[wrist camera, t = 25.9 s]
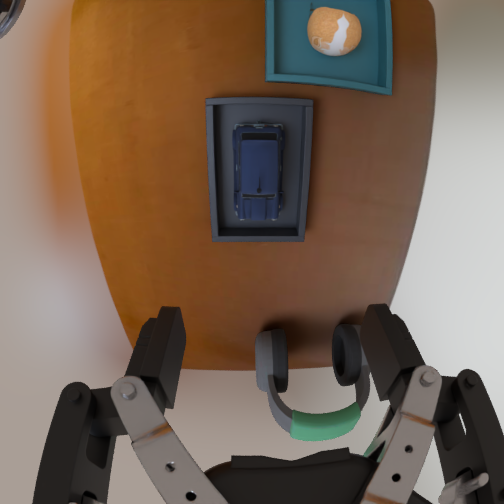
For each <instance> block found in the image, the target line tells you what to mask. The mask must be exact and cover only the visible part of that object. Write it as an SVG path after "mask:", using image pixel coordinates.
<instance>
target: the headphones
mask: <svg viewBox="0 0 504 504" xmlns="http://www.w3.org/2000/svg"><path fill="white" fill-rule="evenodd" d="M360 328H361V325H356V324H355V325H349V324H340V325H338V326H337V327H336V328H335V331H334V334H333V340H332V361H333V369H334V373H335V376H336V379H337V381H338V383H339V384H340V385H341V386H350V385H353V384H354V383H355V388H356V402H354V403H353V404H352V405H350V406H348V407H346V408H344V409H342V410H339V411H335V412H331V413H323V414H310V413H303V412H299V411H296V410H291V409H290V408H289V407H287V406H286V405H285V404H284V403H283V401H282V400H281V399H280V397H279V395H278V393H283V392H286V390H287V386H288V351H287V341H286V335H285V332H284V330H283V329H273V330H271V331H263V332H261V333H259V334H258V335H257V337H256V340H255V354H256V379H257V380H256V381H257V385H258V388H259V389H260V390H262V391H265V392H267V394H268V400H269V406H270V409H271V412H272V415H273V417H274V418H275V420H276V421H277V423H278V424H279V425H280V426H281V427H282V428H283V429H284V430H286V431H287V432H289V433H290V436H291V437H292V438H295V439H298V440H303V441H321V440H328V439H333V438H336V437H339V436H342V435H344V434H346V433H348V432H349V431H351V430H352V429H353V428H354V426H355V425H356V423H357V421H358V420H359V418H360V416H361V411H362V409H363V407H364V405H365V404H366V402H367V399H368V396H369V392H370V379H369V374H370V372H371V371H370V368H369V365H368V362H367V360H366V357H365V354H364V351H363V348H362V345H361V342H360Z"/></svg>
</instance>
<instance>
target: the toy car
mask: <svg viewBox="0 0 504 504" xmlns="http://www.w3.org/2000/svg"><path fill="white" fill-rule="evenodd" d="M237 126H238V127H237ZM278 126H281V128H280V127H278ZM232 146H233V162H234V191H233V192H234V211H236V215H238V218H239V219H240V220H245V219H251V220H266V219H272V220H276V219H278V216H279V214H280V211H282V207H283V196H282V193H283V192H284V191H282V175H283V150H284V149H285V131H284V130H283V125H282V124H261V120H257V123H256V124H244V123H239V124H235V127H234V130H233V133H232Z"/></svg>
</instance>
